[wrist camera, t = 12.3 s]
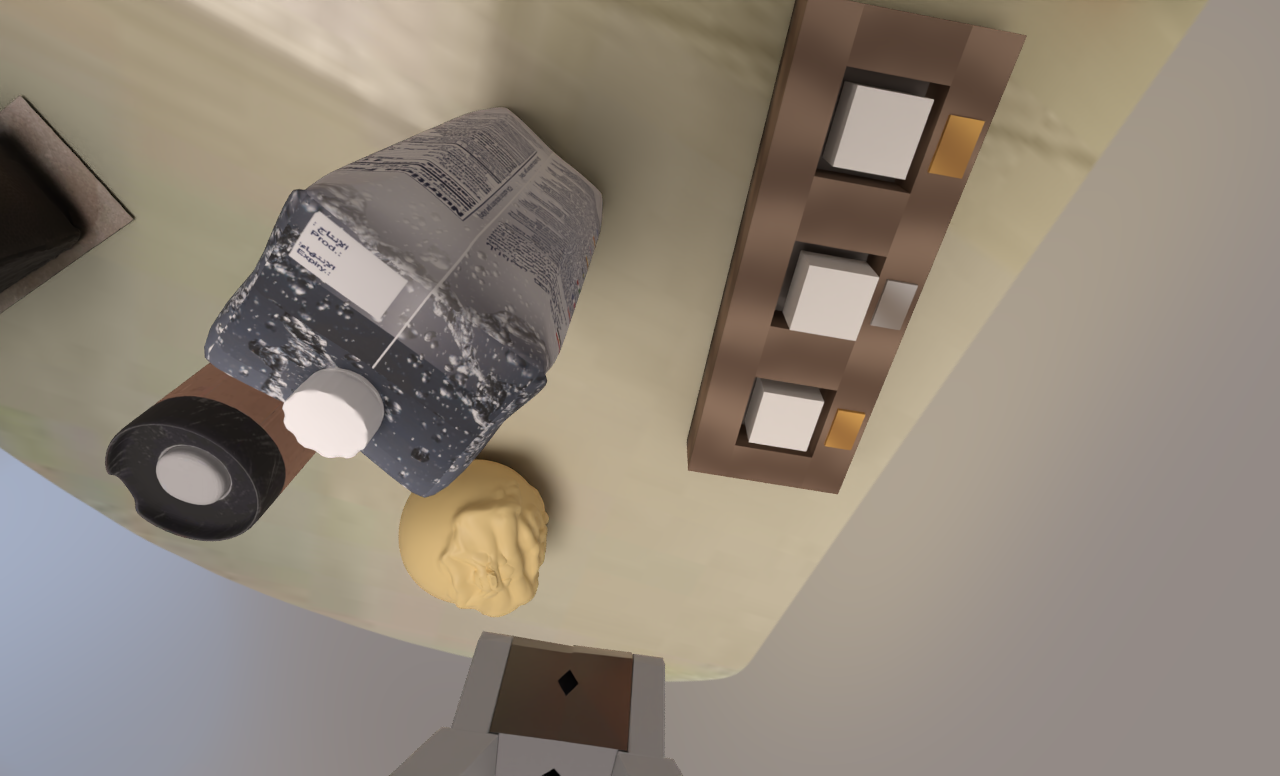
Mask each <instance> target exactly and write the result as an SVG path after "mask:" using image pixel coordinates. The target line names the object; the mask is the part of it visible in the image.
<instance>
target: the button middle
mask: <svg viewBox="0 0 1280 776" xmlns="http://www.w3.org/2000/svg"><path fill="white" fill-rule="evenodd" d="M878 280H879V276H878V275H877V274H876V273H875V272H874V270H873V269H872V268H871V267H870V266H869V264H868V263H867V262H865V261H859V260H854V259H848V258H842V257H837V256H831V255H826V254H820V253H814V252H809V251H803V250H801V252H800V255H799V258H798V262H797V265H796V268H795V272H794V275H793V278H792V282H791V285H790V288H789V292H788V295H787V298H786V302H785V305H784V308H783V314H784V317H785V319H786V322H787V324H788V327H789V329H790V330H794V331H799V332H805V333H811V334H817V335H823V336H829V337H835V338H840V339H846V340H852V341H856V339H857V336H858V334H859V331H860V328H861V325H862V323H863V320H864V317H865V315H866V312H867V309H868V307H869V304H870V301H871V299H872V296H873V293H874V291H875V288H876V285H877V283H878Z"/></svg>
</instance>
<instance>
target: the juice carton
mask: <svg viewBox="0 0 1280 776" xmlns="http://www.w3.org/2000/svg"><path fill="white" fill-rule="evenodd" d="M602 207H603V199H602V194H601V192H600V191H599V190H598V189H597V188H596V187H595V186H594V185H593V184H592V183H590V182H589V181H588V180H587V179H586V178H585V177H584V176H583V175H581V174H580V173H579V172H578V171H577V170H575V169H574V168H573V167H571V166H570V165H569V164H568V163H566V162H565V161H564V160H563V159H561V158H560V157H559V156H558V155H557V154H555V153H554V152H553V151H552V150H551V149H550V148H549V147H548V146H547V145H546V144H545V143H544V142H543V141H542V140H541V139H540V138H539V137H538V136H537V135H536V134H535V133H534V132H533V131H532V130H531V129H530V128H529V127H528V126H527V125H526V124H525V123H524V122H523V121H522V120H520V119H519V118H518V117H517V116H516V115H515V114H514V113H512V112H511V111H510V110H509V109H507V108H505V107H497V108H490V109H484V110H478V111H474V112H470V113H467V114H464V115H462V116H459V117H457V118H454V119H452V120H450V121H447V122H445V123H443V124H440V125H438V126H436V127H433V128H431V129H429V130H426V131H424V132H422V133H419V134H417V135H415V136H412V137H410V138H408V139H406V140H403V141H401V142H399V143H396V144H394V145H392V146H389V147H387V148H385V149H382V150H380V151H378V152H376V153H373V154H371V155H369V156H366V157H364V158H362V159H359V160H357V161H355V162H353V163H350V164H348V165H346V166H344V167H342V168H339V169H337V170H335V171H333V172H331V173H329V174H327V175H325V176H324V177H322V178H321V179H319V180H318V181H316V182H315V183H313V184H312V185H311V186H309V187H308V188H307V189H306V190H301V189H298V190H293V191H292V193H291V194H290V195H289V197H288V199H287V201H286V202H285V204H284V206H283V208H282V211H281V213H280V215H279V217H278V219H277V222H276V224H275V226H274V229H273V231H272V233H271V236H270V238H269V240H268V243H267V245H266V247H265V250H264V252H263V254H262V256H261V258H260V260H259V261H258V263H257V265H256V267H255V269H254V270H253V272H252V273H251V275H250V276H249V277H248V278H247V279H246V280H245V282H244V283H243V284H242V285H241V286H240V288H239V289H238V290H237V291H236V292H235V293H234V295H233V296H232V297H231V298H230V300H229V301H228V302H227V304H226V305H225V307H224V308H223V309H222V311H221V312H220V314H219V315H218V317H217V318H216V320H215V322H214V323H213V325H212V326H211V328H210V331H209V334H208V337H207V340H206V343H205V346H204V350H205V358H206V359H207V360H208V361H209V362H210V363H211V364H212V365H214V366H215V367H216V368H218V369H219V370H221V371H223V372H225V373H226V374H228V375H230V376H232V377H234V378H236V379H237V380H239V381H241V382H243V383H245V384H247V385H249V386H251V387H253V388H255V389H257V390H259V391H261V392H263V393H265V394H267V395H269V396H271V397H273V398H275V399H277V400H279V401H281V402H284V405H283V408H282V409H283V411H284V414H285V417H284V424H285V426H286V428H287V429H288V430H289V431H290V432H292V433H293V434H294V435H295V437H296V439H297V441H298V442H299V443H300V444H301V445H302V446H304V447H305V448H309V449H312V450H315V451H316V452H318V453H319V454H320V455H321V456H324V457H328V458H334V457H344V458H351V457H354V456H355V455H356V454H357V453H358V452H359V451H361V452H362V453H363V454H364V455H365V456H367V457H368V458H369V459H370V460H372V461H373V462H374V463H375V464H376V465H378V466H379V467H380V468H381V469H382V470H384V471H385V472H386V473H387V474H389V475H390V476H391V477H392V478H394V479H395V480H396V481H397V482H399V483H400V484H401V485H403V486H404V487H405V488H407V489H408V490H410V491H411V492H413V493H414V494H417V495H419V496H421V497H424V498H426V497H429V496H432V495H435V494H436V493H438V492H439V491H441V490H443V489H444V488H446V487H447V486H449V485H450V484H451V483H452V482H453V481H454V480H455V479H456V478H457V477H458V476H459V475H460V474H461V473H462V472H464V471H465V469H466V468H467V467H468V466H469V465H470V464H471V463H472V461H473V460H474V459H475V458H476V457H477V455H478V454H479V453H480V452H481V451H482V449H483V448H484V447H485V446H486V444H487V443H488V442H489V440H490V439H491V438H492V436H493V435H494V434H495V432H496V431H497V430H498V428H499V427H500V426H501V424H502V423H503V422H504V421H505V420H506V419H507V418H508V417H509V416H511V415H512V414H513V413H514V412H516V411H517V410H518V409H519V408H521V407H522V406H523V405H524V404H526V403H527V402H528V401H529V400H531V399H532V398H533V397H534V396H535V395H536V394H538V393H539V392H540V391H541V390H542V389H543V388H544V386H545V385H546V383H547V378H546V375H545V374H546V372H547V371H548V370H549V369H550V368H551V367H552V365H553V364H554V362H555V360H556V359H557V356H558V354H559V352H560V350H561V347H562V344H563V342H564V339H565V336H566V333H567V330H568V327H569V324H570V321H571V318H572V316H573V313H574V310H575V307H576V304H577V301H578V298H579V295H580V292H581V289H582V286H583V283H584V280H585V277H586V274H587V271H588V268H589V265H590V261H591V258H592V255H593V252H594V249H595V246H596V243H597V240H598V237H599V233H600V229H601V222H602Z"/></svg>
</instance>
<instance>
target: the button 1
mask: <svg viewBox="0 0 1280 776" xmlns="http://www.w3.org/2000/svg"><path fill="white" fill-rule="evenodd" d="M823 404H824V400H823V398H822V395H821V393H820V390H819V388H818V387H812V386H806V385H800V384H794V383H788V382H782V381H776V380H770V379H764V378H758V377H757V380H756V383H755V387H754V390H753V393H752V397H751V400H750V404H749V407H748V410H747V414H746V417H745V426H746V431H747V436H748V441H749V442H751V443H757V444H763V445H769V446H775V447H782V448H788V449H794V450H800V451H807V448H808V445H809V442H810V440H811V437H812V434H813V431H814V429H815V426H816V423H817V420H818V418H819V415H820V412H821V409H822V407H823Z"/></svg>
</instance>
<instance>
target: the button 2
mask: <svg viewBox="0 0 1280 776" xmlns="http://www.w3.org/2000/svg"><path fill="white" fill-rule="evenodd" d="M933 102H934V99H930V98H926V97H923V96H919V95H915V94H910V93H905V92H900V91H894V90H889V89H884V88H879V87H873V86H868V85H863V84H858V83H852V82H847V81H845V82H844V86H843V89H842V92H841V96H840V99H839V103H838V106H837V109H836V113H835V116H834V120H833V123H832V126H831V130H830V133H829V136H828V140H827V143H826V147H825V150H824V153H823V157H822V158H824V159H825V160H826V161H827V162H828V163H829V164H831V165H832V166H833V167H838V168H844V169H849V170H855V171H860V172H866V173H871V174H876V175H882V176H887V177H893V178H898V179H904V180H905V179H906V176H907V173H908V170H909V168H910V165H911V162H912V159H913V157H914V154H915V151H916V148H917V146H918V143H919V140H920V137H921V135H922V132H923V129H924V126H925V124H926V121H927V118H928V116H929V113H930V110H931V107H932V105H933Z"/></svg>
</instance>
